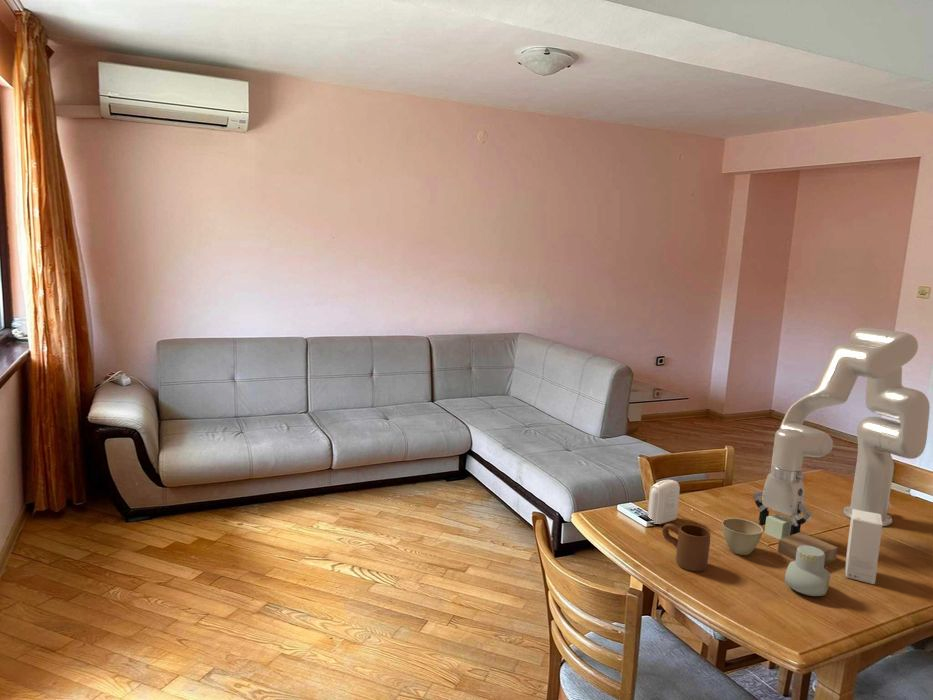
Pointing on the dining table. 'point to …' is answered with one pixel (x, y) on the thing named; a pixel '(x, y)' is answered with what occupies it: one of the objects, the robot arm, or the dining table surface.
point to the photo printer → (663, 501)
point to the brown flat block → (794, 541)
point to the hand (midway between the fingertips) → (778, 530)
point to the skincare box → (863, 546)
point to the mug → (690, 545)
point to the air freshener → (808, 572)
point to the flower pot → (741, 535)
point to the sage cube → (778, 526)
